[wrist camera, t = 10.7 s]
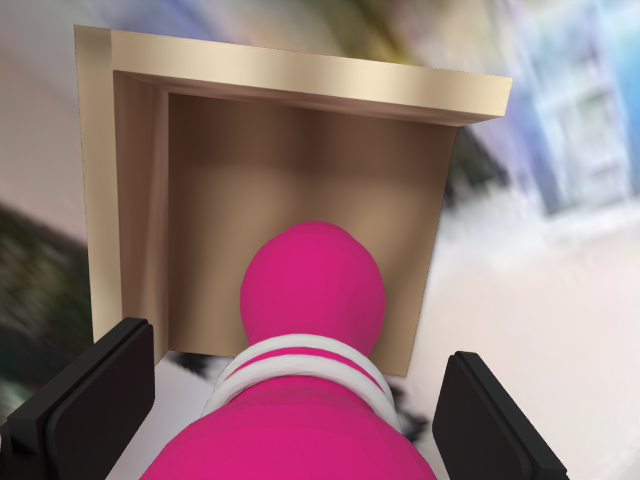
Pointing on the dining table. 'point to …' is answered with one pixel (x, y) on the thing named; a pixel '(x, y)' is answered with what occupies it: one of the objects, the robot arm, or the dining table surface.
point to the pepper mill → (301, 375)
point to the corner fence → (224, 83)
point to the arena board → (295, 208)
